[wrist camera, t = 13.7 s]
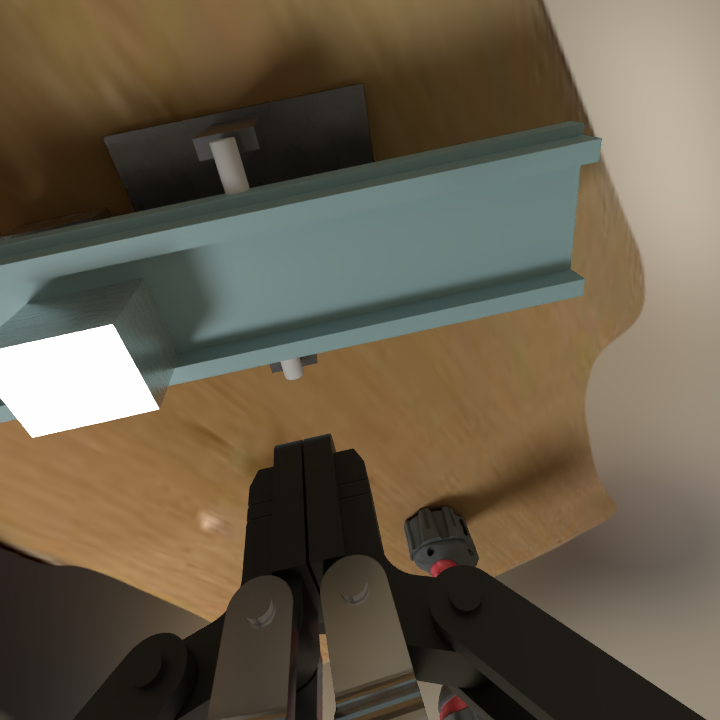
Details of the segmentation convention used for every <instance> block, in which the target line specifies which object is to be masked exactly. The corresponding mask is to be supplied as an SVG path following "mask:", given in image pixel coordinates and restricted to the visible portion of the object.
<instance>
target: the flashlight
mask: <svg viewBox="0 0 720 720" xmlns="http://www.w3.org/2000/svg"><path fill="white" fill-rule="evenodd" d="M441 509H442V510H441V511H432V512H431V511H430V510H429V508H425V509H422V510H419V512H418V513H419V515H418V516H416V517H414V518H413V519H412V520H411V521H410V520H406V521H405V525H404V529H405V534H406V538H407V542H408V547H409V553H410V558H411V560H412V561H415V564H416V565H417V566H418V567H419V568H420V569H422V570H424V571H426V572H428V573H429V574H430V575H431V576H432V577H437V576H438V575H439V573H441V572H442V571H444V570H445V569H447V568H449V567H453V566H457V565H468V566H473V567H475V566H476V565H477V562H478V559H479V557H478V554H477V551H476V548H475V545H474V543H473V540H472V538H471V536H470V533H469V531H468V528H467V525H466V522H465V520H464V518H463V517H461V516H458V515H455V514H454V512H453V509H452V508H450V507H446V506H443V507H442V508H441ZM438 710H439V713H440V720H483V719H482V718H481V717H480V716H479V715H478V714H477V713H476V712H474V711H473V710H472V709H471V708H470V707H469V706H468V705H467V704H466V703H465V702H463V701H462V700H461V699H460V698H459V697H458V696H457V695H456V694H455V693H454V692H452V691H451V690H450V688H449V687H448V686H447V685H443V686H442V689H441V692H440V696H439V704H438Z"/></svg>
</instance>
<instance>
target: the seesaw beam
mask: <svg viewBox="0 0 720 720" xmlns="http://www.w3.org/2000/svg"><path fill="white" fill-rule="evenodd" d="M584 126H585V123H582V122H576V121H568V122H563V123H558V124H554V125H549V126H544V127H539V128H534V129H530V130H525V131H520V132H515V133H511V134H506V135H501V136H496V137H492V138H487V139H482V140H477V141H473V142H468V143H463V144H458V145H454V146H449V147H444V148H439V149H435V150H430V151H425V152H420V153H415V154H411V155H406V156H401V157H396V158H392V159H387V160H382V161H377V162H373V163H368V164H363V165H358V166H354V167H349V168H344V169H339V170H335V171H330V172H325V173H320V174H316V175H311V176H306V177H301V178H296V179H292V180H287V181H282V182H277V183H273V184H268V185H263V186H258V187H254V188H249V184H248V181H247V178H246V174H245V171H244V167H243V164H242V161H241V157H240V154H239V150H238V147H237V144H236V140H235V137H229V138H223V139H219V140H215V141H212V142H209V144H210V148H211V151H212V154H213V157H214V160H215V163H216V166H217V169H218V172H219V175H220V178H221V181H222V184H223V187H224V190H225V194H220V195H216V196H211V197H206V198H201V199H197V200H192V201H187V202H182V203H178V204H173V205H168V206H163V207H158V208H154V209H149V210H144V211H139V212H135V213H130V214H125V215H120V216H116V217H111V218H106V219H101V220H97V221H92V222H87V223H82V224H78V225H73V226H68V227H63V228H59V229H54V230H49V231H44V232H39V233H35V234H30V235H25V236H20V237H16V238H11V239H6V240H1V241H0V327H1V326H2V325H3V324H4V323H5V322H6V321H7V320H9V319H10V318H11V317H12V316H13V315H14V314H15V313H16V312H18V311H19V310H20V309H21V308H22V307H23V306H24V305H25V304H26V303H30V302H35V301H39V300H44V299H49V298H53V297H58V296H63V295H67V294H72V293H76V292H81V291H86V290H90V289H95V288H99V287H104V286H109V285H113V284H118V283H123V282H127V281H132V280H136V279H141V278H145V279H146V281H147V283H148V286H149V288H150V290H151V292H152V294H153V296H154V298H155V300H156V302H157V304H158V307H159V309H160V311H161V313H162V315H163V317H164V319H165V321H166V323H167V326H168V328H169V330H170V332H171V334H172V336H173V338H174V340H175V342H176V344H177V347H178V349H179V351H180V356H179V358H178V361H177V364H176V366H175V369H174V372H173V374H172V377H171V380H170V382H169V385H168V386H170V385H175V384H180V383H184V382H189V381H193V380H198V379H203V378H207V377H212V376H216V375H221V374H225V373H230V372H235V371H239V370H244V369H248V368H253V367H257V366H262V365H267V364H271V363H276V362H281V365H282V368H283V371H284V374H285V377H286V379H288V380H295V379H298V378H300V377H301V376H302V375H303V374H304V371H303V367H302V364H301V360H300V357H303V356H308V355H312V354H317V353H322V352H326V351H331V350H335V349H340V348H344V347H349V346H354V345H358V344H363V343H367V342H372V341H377V340H381V339H386V338H390V337H395V336H399V335H404V334H409V333H413V332H418V331H422V330H427V329H432V328H436V327H441V326H445V325H450V324H454V323H459V322H464V321H468V320H473V319H477V318H482V317H486V316H491V315H496V314H500V313H505V312H509V311H514V310H519V309H523V308H528V307H532V306H537V305H541V304H546V303H551V302H555V301H560V300H564V299H569V298H573V297H578V296H583V290H584V282H585V279H584V278H583V277H581V276H580V275H578V274H577V273H576V272H574V271H573V270H571V269H570V267H571V257H572V247H573V237H574V227H575V216H576V206H577V196H578V186H579V176H580V166H581V165H586V164H590V163H595V162H599V157H600V148H601V140H602V139H601V138H597V137H593V136H588V135H584ZM15 419H17V417H16V416H15V415H14V414H13V412H12V411H11V410H10V409H9V407H8V406H7V405H6V404H5V402H4V401H3V400H2V399H1V397H0V423H1V422H6V421H10V420H15Z"/></svg>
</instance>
